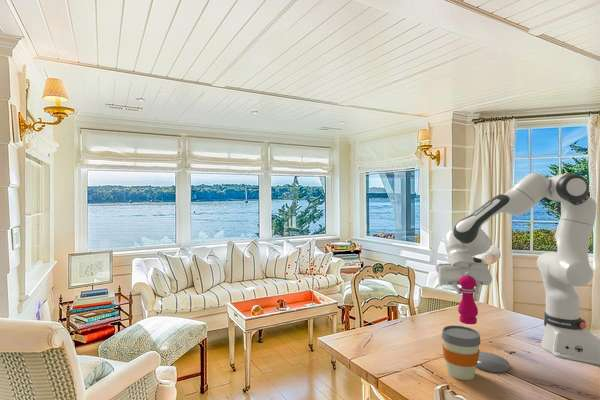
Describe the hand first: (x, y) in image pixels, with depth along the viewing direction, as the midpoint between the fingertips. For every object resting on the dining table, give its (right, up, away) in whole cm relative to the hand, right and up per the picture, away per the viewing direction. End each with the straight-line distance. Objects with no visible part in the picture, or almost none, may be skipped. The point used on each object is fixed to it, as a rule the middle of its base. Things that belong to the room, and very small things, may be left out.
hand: (468, 293), depth 141 cm
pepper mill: (0, -12, +1) cm, 12 cm away
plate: (+4, -25, -7) cm, 26 cm away
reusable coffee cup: (-10, -25, -14) cm, 30 cm away
